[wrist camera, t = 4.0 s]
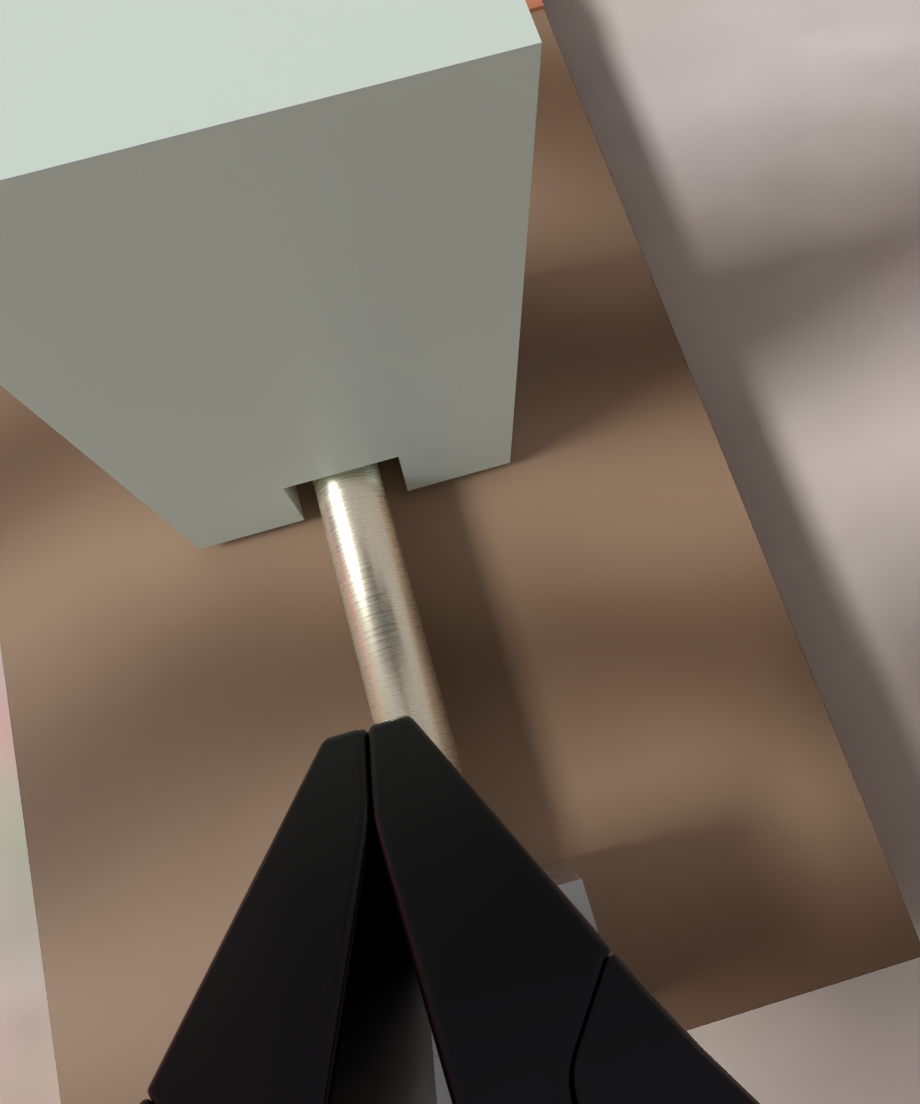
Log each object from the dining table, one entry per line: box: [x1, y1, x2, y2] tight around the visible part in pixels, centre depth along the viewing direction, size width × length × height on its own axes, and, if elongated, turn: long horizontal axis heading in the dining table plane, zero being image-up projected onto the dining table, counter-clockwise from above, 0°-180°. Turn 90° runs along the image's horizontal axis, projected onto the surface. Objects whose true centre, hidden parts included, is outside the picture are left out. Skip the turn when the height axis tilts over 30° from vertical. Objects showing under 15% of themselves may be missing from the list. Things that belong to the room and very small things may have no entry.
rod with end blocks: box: [313, 463, 598, 1104], centre depth 14 cm, size 24×5×6 cm, turn 16°
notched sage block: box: [0, 0, 542, 549], centre depth 12 cm, size 4×6×9 cm, turn 106°
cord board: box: [0, 0, 920, 1104], centre depth 17 cm, size 25×14×2 cm, turn 16°
